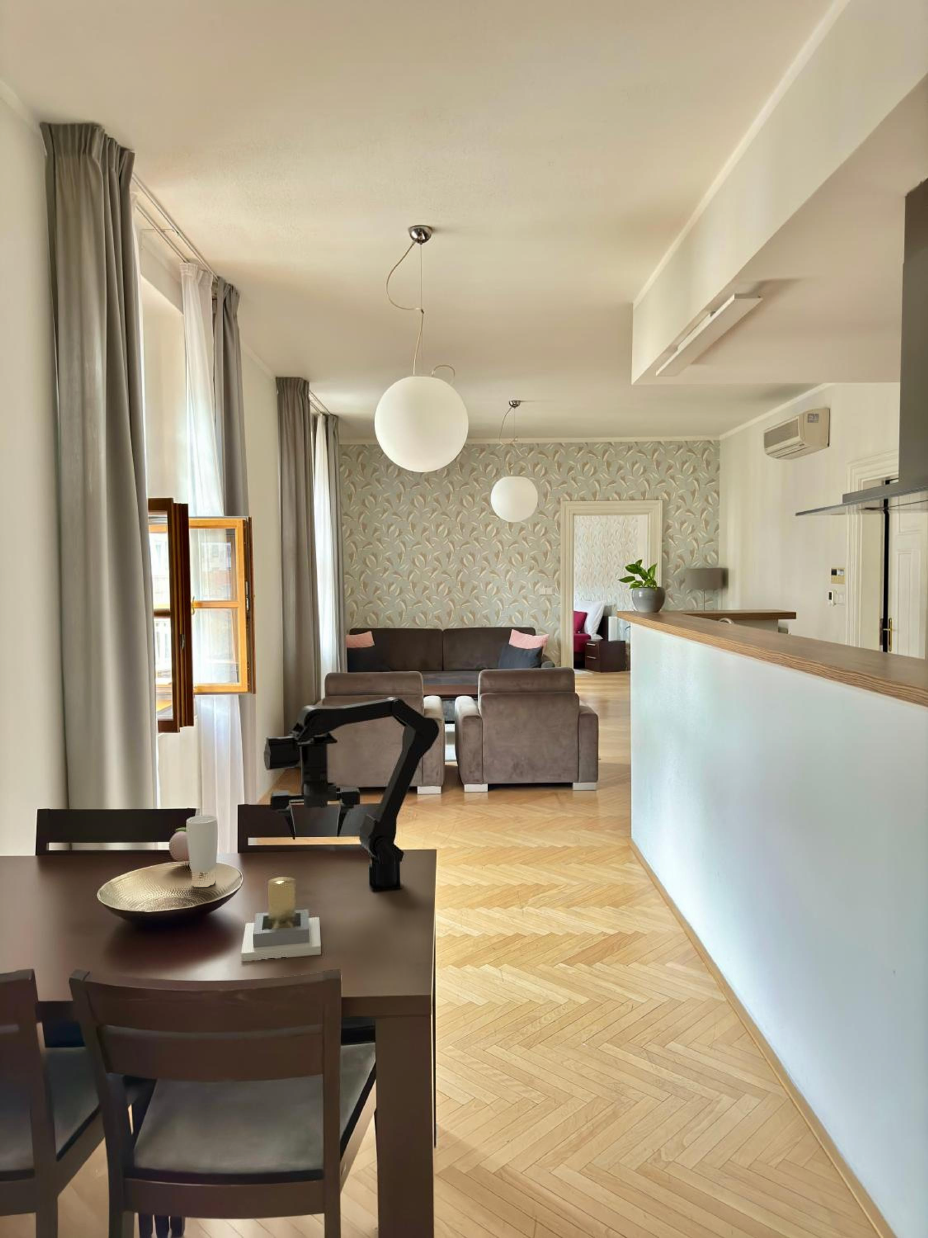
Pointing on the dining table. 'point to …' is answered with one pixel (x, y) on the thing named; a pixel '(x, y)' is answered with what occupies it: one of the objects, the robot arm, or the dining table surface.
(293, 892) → the cylinder
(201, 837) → the drinking glass
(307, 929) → the jig plate
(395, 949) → the dining table surface
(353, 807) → the robot arm
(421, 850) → the dining table surface
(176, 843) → the decorative fruit
